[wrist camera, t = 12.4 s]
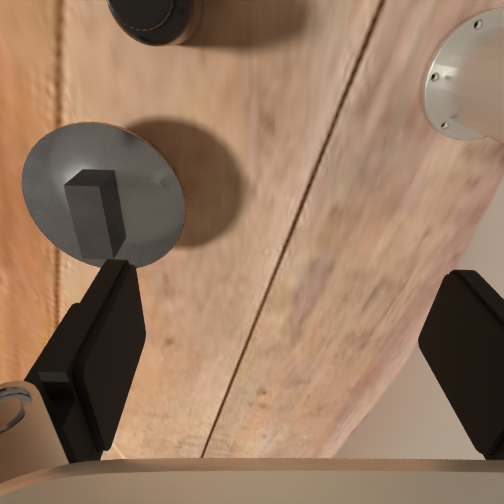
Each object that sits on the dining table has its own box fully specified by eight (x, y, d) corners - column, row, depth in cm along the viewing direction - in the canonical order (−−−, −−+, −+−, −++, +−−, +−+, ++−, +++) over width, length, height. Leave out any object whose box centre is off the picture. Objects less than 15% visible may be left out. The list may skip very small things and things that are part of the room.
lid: (180, 125, 34) (171, 139, 30) (189, 267, 43) (183, 295, 39) (3, 118, 34) (-35, 131, 29) (49, 264, 43) (26, 291, 38)
